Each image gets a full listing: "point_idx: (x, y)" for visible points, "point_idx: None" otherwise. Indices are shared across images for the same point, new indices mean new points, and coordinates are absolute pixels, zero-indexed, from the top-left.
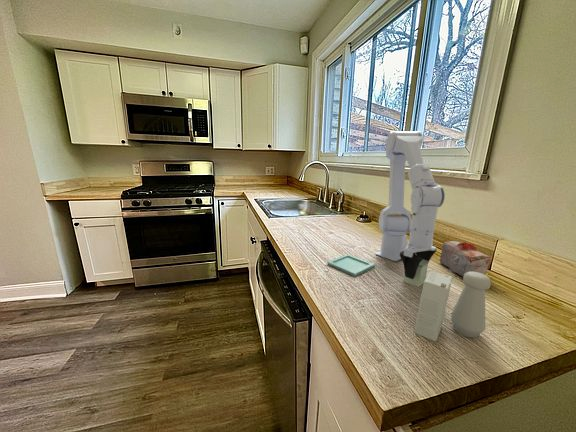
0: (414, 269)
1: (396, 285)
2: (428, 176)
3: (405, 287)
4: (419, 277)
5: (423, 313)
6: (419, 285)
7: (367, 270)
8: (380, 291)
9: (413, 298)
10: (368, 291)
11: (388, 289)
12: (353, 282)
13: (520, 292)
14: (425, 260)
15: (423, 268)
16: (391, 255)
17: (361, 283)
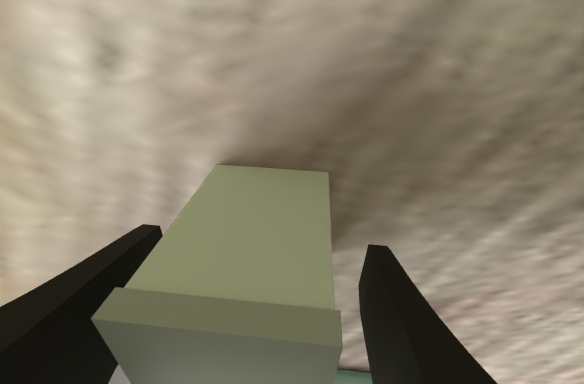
0: (460, 347)
1: (407, 261)
2: None
3: (397, 224)
4: (330, 222)
5: None
6: (315, 175)
7: (343, 370)
8: (544, 292)
9: (541, 144)
10: (577, 323)
11: (492, 274)
12: (510, 374)
13: None
14: (118, 344)
15: (269, 278)
16: (119, 366)
17: (499, 356)
